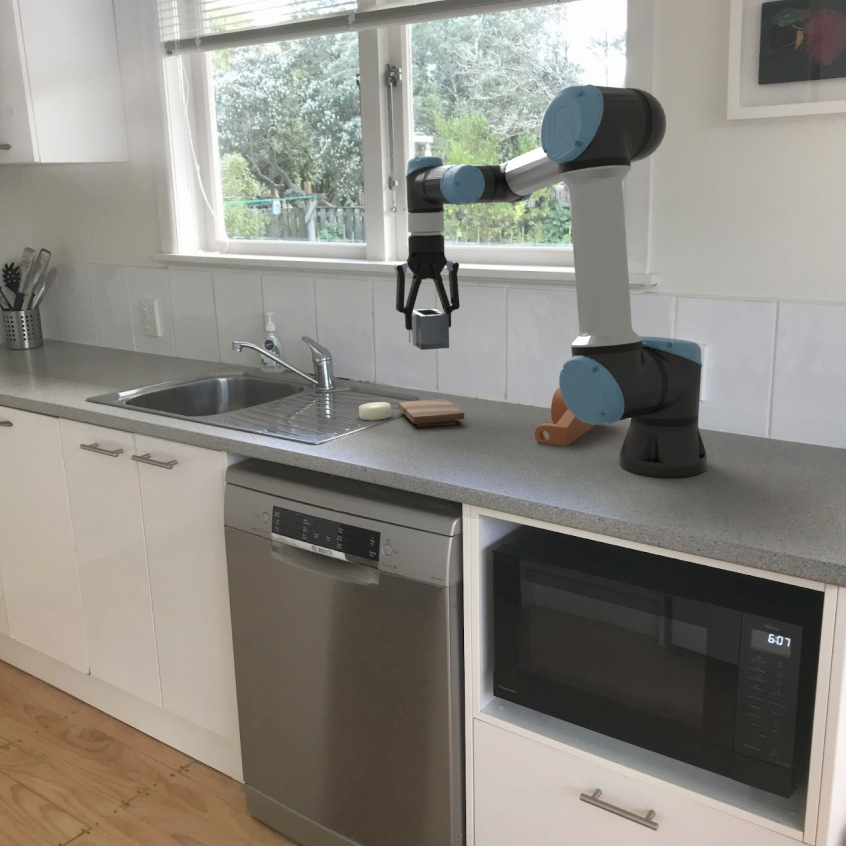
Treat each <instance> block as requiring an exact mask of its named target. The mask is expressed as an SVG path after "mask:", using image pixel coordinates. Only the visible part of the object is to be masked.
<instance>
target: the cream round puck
mask: <svg viewBox="0 0 846 846" xmlns="http://www.w3.org/2000/svg"><path fill="white" fill-rule="evenodd" d="M391 407H392V406H391V403H390V402H385V401H384V402H383V401H376V402H374V401H373V402H366V403H364V404H363V403H362V404H361V405H359V406H358V411H359V413H358V414H359V418H360V419H361V420H365V421H366V420H367V421H381V420H380V419H384V420H387V419H386V418H388V419H390V418H392V408H391ZM389 417H390V418H389Z"/></svg>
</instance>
